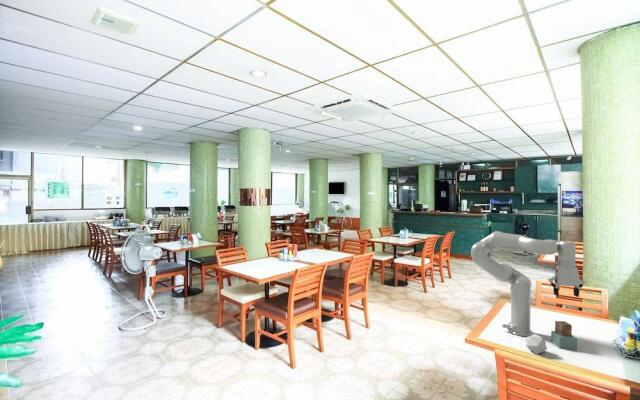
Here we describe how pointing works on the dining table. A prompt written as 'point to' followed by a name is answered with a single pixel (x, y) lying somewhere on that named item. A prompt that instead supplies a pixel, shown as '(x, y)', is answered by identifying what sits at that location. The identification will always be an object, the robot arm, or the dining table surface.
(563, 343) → the base block
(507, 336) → the dining table surface
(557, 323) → the walnut block
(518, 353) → the dining table surface
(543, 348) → the die
